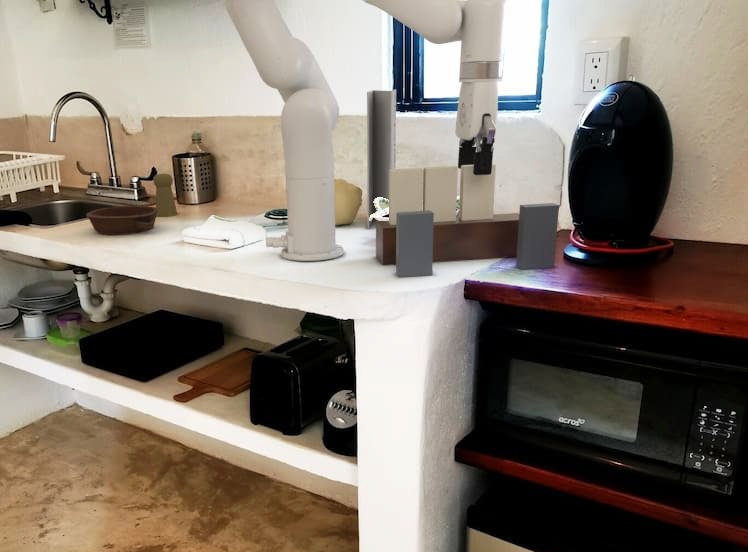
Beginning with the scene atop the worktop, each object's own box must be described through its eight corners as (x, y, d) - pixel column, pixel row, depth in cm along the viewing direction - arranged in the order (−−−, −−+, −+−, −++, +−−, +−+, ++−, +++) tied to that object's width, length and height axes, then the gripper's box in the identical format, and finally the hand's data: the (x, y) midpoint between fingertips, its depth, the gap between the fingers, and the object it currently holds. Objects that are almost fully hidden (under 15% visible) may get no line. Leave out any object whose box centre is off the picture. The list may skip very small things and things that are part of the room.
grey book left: (398, 277, 136) (399, 214, 132) (395, 273, 139) (396, 212, 135) (432, 275, 136) (433, 212, 132) (428, 271, 139) (430, 210, 135)
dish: (121, 241, 180) (118, 220, 178) (70, 232, 194) (67, 212, 193) (179, 229, 191) (177, 208, 189) (127, 221, 206) (125, 202, 204)
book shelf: (382, 265, 145) (382, 228, 143) (375, 257, 152) (375, 221, 149) (528, 255, 146) (530, 219, 144) (515, 248, 153) (517, 212, 150)
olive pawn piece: (155, 213, 215) (151, 173, 211) (177, 212, 216) (173, 172, 212) (155, 217, 210) (150, 175, 206) (177, 215, 210) (173, 174, 206)
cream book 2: (424, 223, 145) (425, 168, 142) (422, 221, 147) (423, 167, 144) (456, 221, 146) (457, 166, 142) (453, 219, 147) (454, 165, 144)
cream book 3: (461, 220, 146) (463, 166, 142) (458, 218, 148) (460, 165, 144) (493, 218, 146) (495, 164, 142) (489, 217, 148) (492, 163, 144)
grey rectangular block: (520, 269, 137) (525, 207, 133) (515, 266, 139) (519, 204, 136) (554, 267, 137) (559, 205, 133) (548, 264, 140) (553, 202, 136)
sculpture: (369, 222, 187) (368, 177, 183) (339, 230, 179) (338, 183, 175) (331, 218, 194) (330, 175, 190) (301, 226, 186) (299, 181, 182)
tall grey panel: (391, 228, 178) (392, 90, 167) (367, 228, 179) (366, 92, 168) (395, 217, 191) (396, 89, 180) (372, 218, 192) (372, 90, 181)
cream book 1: (390, 225, 145) (390, 170, 142) (388, 223, 147) (388, 169, 143) (422, 223, 145) (423, 168, 142) (419, 221, 147) (420, 167, 144)
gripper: (447, 73, 145) (441, 166, 152) (474, 73, 129) (467, 178, 135) (486, 72, 146) (479, 165, 152) (518, 72, 130) (509, 176, 136)
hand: (473, 171), depth 144 cm, fingers open, 9 cm apart
